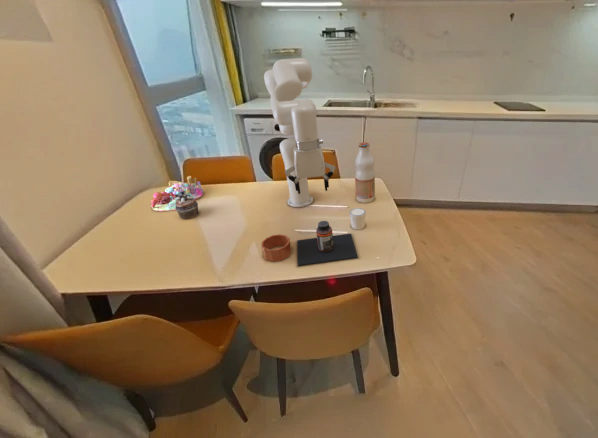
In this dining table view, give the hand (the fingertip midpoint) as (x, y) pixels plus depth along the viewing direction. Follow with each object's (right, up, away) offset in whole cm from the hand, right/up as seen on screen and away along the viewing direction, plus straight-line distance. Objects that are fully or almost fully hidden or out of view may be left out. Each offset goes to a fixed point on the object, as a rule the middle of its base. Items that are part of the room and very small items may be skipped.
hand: (312, 190), depth 113 cm
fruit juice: (+20, 0, +44) cm, 48 cm away
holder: (-15, -23, +8) cm, 28 cm away
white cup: (+16, -13, +23) cm, 31 cm away
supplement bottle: (+4, -22, +9) cm, 23 cm away
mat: (+4, -22, +9) cm, 24 cm away
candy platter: (-77, 0, +51) cm, 92 cm away
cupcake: (-63, -8, +36) cm, 74 cm away
